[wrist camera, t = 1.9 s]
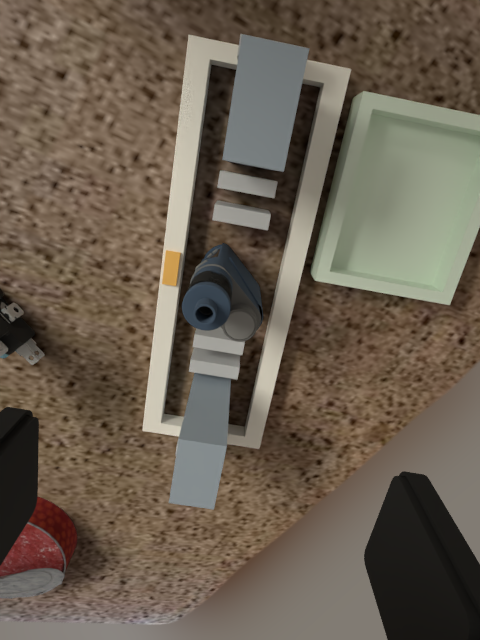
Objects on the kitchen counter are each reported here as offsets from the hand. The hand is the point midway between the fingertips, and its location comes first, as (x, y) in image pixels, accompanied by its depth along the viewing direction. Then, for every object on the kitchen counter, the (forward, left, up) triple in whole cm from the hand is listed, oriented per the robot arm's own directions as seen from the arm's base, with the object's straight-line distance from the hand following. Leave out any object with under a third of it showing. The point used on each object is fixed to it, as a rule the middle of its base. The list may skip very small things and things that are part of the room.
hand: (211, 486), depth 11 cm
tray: (-7, +10, -21) cm, 25 cm away
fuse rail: (0, 0, -21) cm, 21 cm away
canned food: (+29, -15, -22) cm, 39 cm away
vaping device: (0, 0, -21) cm, 21 cm away
